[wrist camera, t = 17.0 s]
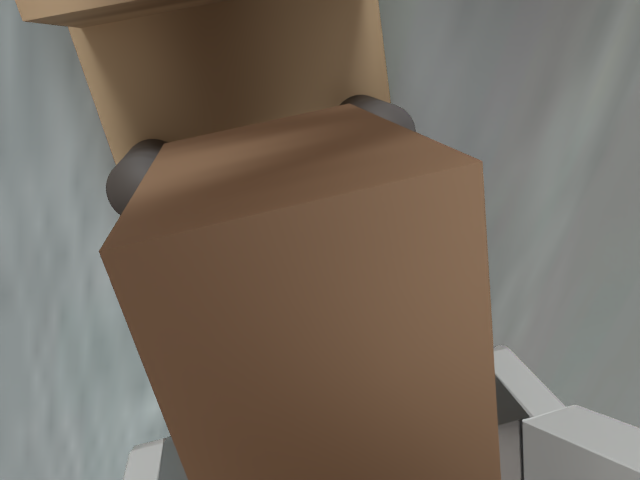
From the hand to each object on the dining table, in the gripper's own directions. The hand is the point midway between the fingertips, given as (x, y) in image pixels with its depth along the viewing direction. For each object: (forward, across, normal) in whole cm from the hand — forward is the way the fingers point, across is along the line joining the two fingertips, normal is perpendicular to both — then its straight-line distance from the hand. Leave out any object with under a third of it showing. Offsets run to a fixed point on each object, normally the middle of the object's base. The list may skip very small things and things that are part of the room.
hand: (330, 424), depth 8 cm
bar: (+2, 0, 0) cm, 2 cm away
